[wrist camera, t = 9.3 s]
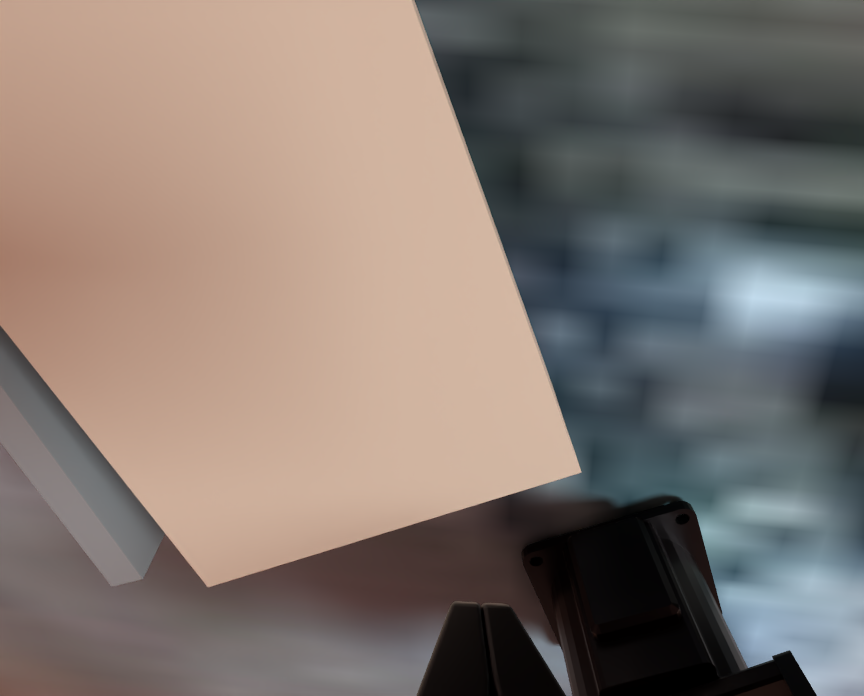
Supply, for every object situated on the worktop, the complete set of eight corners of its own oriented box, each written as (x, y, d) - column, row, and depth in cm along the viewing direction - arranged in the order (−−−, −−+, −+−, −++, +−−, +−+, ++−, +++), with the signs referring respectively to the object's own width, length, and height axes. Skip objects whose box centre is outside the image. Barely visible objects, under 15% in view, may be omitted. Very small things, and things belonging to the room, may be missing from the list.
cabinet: (548, 374, 21) (581, 472, 17) (249, 474, 23) (207, 587, 18) (244, -473, 12) (144, -741, 8) (-205, -202, 14) (-492, -295, 10)
